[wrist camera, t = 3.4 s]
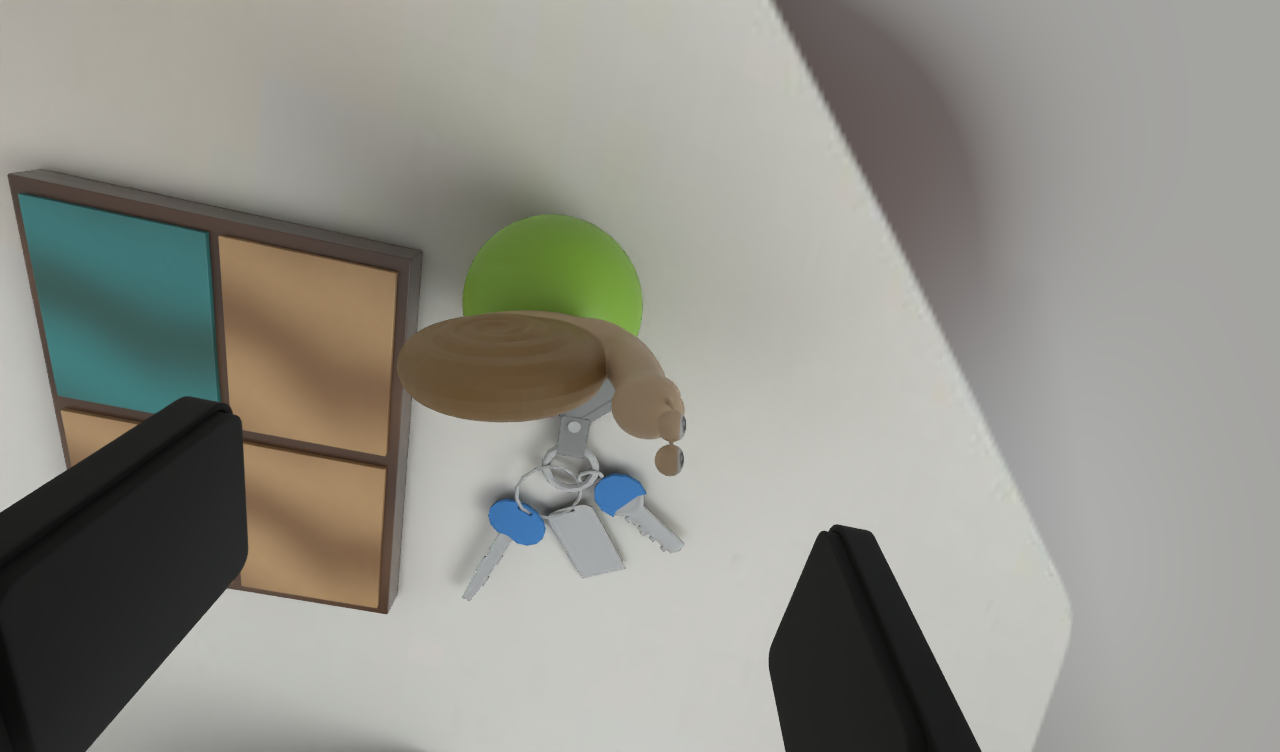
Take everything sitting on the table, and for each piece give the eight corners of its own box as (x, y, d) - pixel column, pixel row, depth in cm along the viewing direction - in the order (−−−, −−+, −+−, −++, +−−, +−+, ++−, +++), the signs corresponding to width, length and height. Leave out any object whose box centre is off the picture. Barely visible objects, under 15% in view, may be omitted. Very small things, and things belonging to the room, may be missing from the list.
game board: (40, 168, 20) (0, 174, 19) (423, 250, 21) (409, 261, 20) (108, 546, 27) (81, 569, 26) (397, 594, 28) (386, 618, 27)
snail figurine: (668, 364, 23) (679, 584, 11) (492, 356, 23) (330, 567, 11) (677, 210, 21) (699, 291, 9) (485, 202, 21) (280, 274, 10)
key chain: (541, 304, 22) (538, 312, 21) (756, 371, 23) (760, 381, 22) (462, 589, 28) (457, 603, 27) (638, 632, 29) (637, 647, 28)
